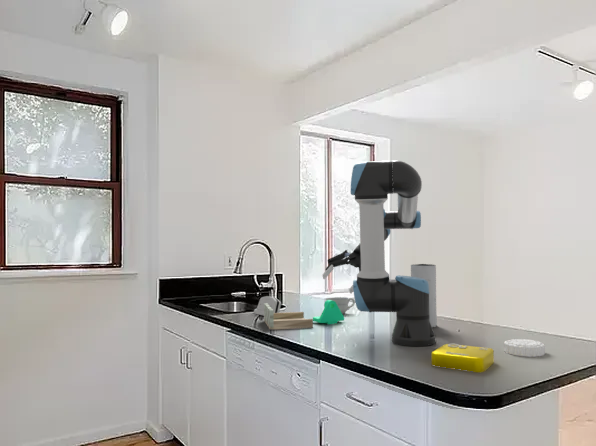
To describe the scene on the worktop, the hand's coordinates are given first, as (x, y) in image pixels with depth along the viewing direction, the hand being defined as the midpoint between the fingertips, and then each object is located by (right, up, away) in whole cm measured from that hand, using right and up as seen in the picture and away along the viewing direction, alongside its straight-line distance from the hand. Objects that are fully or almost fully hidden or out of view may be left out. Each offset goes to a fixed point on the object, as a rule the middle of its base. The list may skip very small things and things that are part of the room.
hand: (336, 284), depth 208 cm
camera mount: (-3, -19, +16) cm, 25 cm away
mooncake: (+57, -17, -46) cm, 75 cm away
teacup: (+5, -20, +41) cm, 45 cm away
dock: (-21, -19, +12) cm, 31 cm away
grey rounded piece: (-31, -20, +42) cm, 56 cm away
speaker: (+37, -18, +4) cm, 41 cm away
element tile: (+33, -17, -59) cm, 70 cm away
